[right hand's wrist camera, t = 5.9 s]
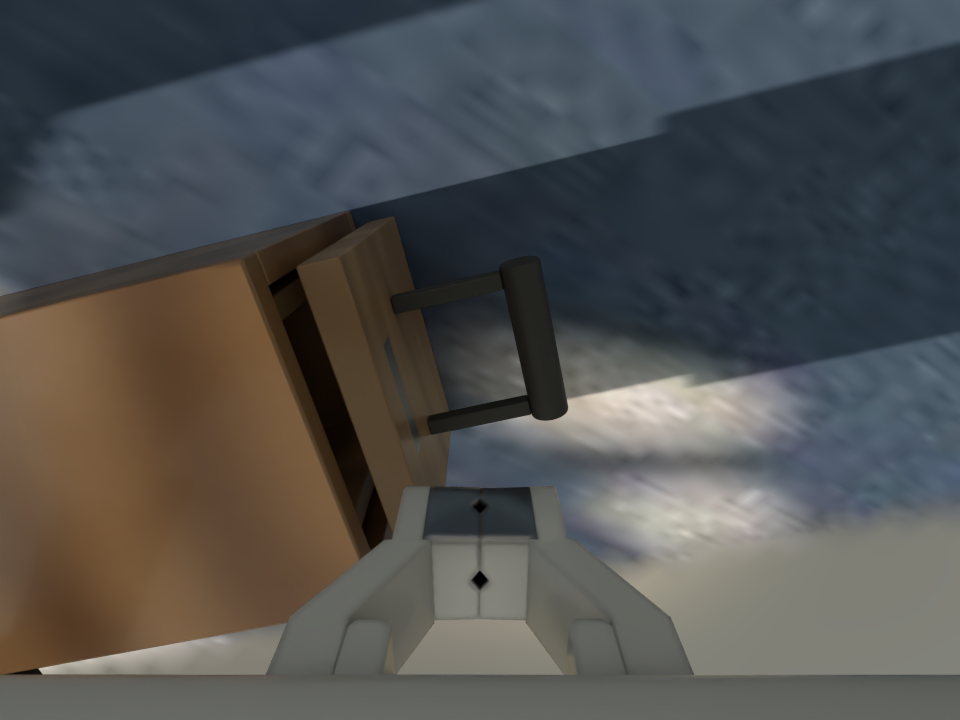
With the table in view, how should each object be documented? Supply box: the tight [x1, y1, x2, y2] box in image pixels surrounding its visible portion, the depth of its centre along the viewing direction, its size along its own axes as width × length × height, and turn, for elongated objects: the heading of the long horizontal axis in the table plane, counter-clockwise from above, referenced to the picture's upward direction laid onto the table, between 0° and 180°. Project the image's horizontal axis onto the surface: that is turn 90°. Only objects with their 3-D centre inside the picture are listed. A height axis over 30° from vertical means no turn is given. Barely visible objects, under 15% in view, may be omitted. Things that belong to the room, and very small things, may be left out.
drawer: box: [268, 216, 568, 534], centre depth 20 cm, size 22×10×10 cm, turn 103°
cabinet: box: [0, 211, 393, 675], centre depth 21 cm, size 18×11×11 cm, turn 103°
